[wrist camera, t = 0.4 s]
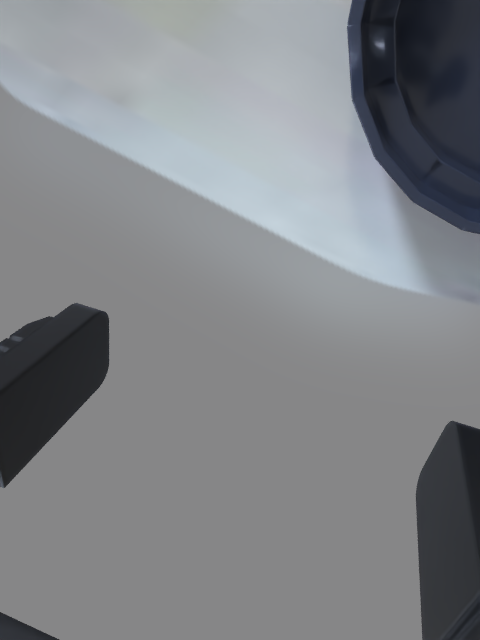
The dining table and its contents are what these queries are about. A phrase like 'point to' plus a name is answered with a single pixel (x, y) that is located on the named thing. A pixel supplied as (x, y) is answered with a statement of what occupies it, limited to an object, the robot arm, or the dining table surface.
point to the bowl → (421, 98)
